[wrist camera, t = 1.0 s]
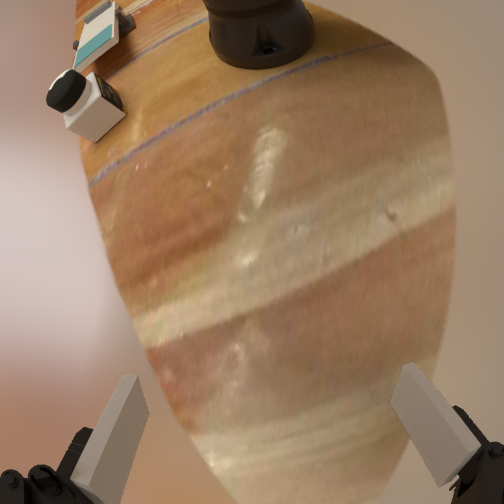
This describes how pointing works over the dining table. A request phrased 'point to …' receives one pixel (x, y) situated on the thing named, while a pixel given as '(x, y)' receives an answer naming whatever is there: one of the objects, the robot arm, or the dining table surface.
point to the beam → (97, 35)
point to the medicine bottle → (86, 103)
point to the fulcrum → (119, 25)
